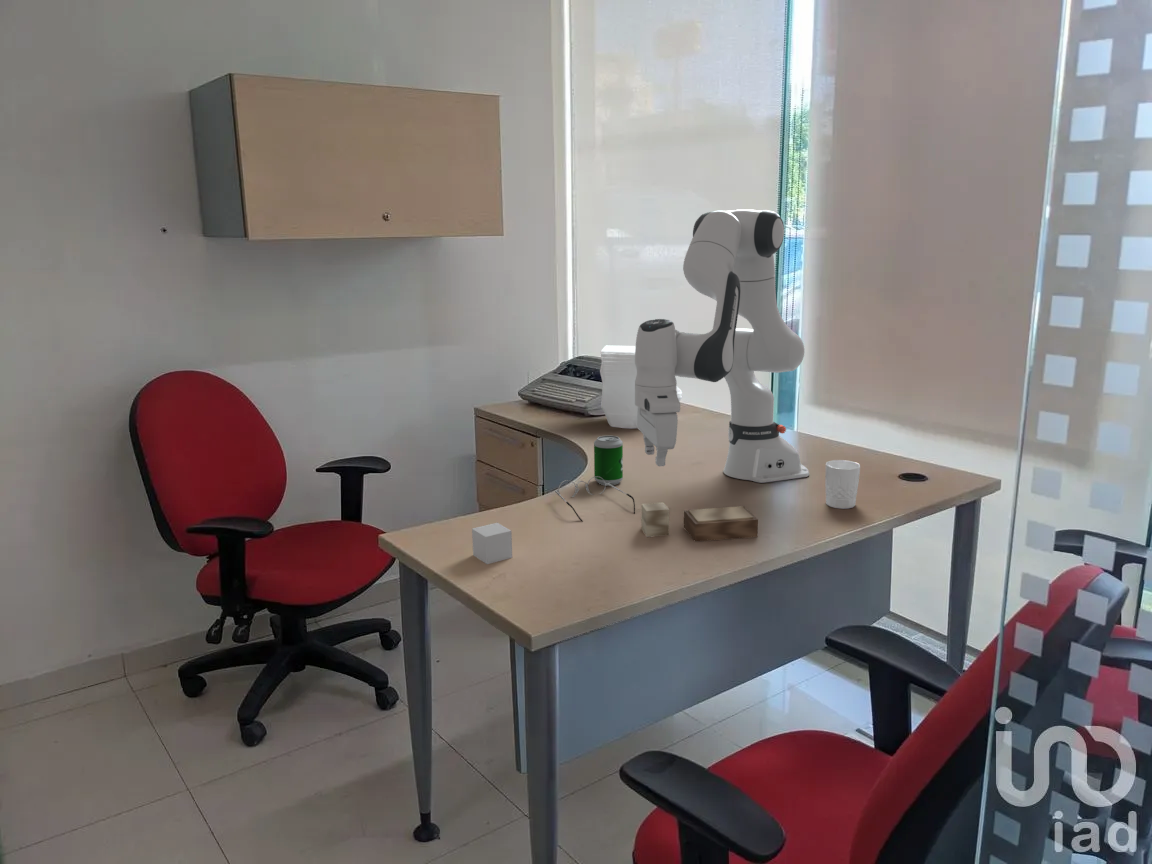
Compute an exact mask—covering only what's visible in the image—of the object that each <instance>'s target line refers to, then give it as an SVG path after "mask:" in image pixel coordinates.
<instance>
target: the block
mask: <svg viewBox="0 0 1152 864" xmlns="http://www.w3.org/2000/svg"><path fill="white" fill-rule="evenodd" d="M640 506H641V507H640V508H641V509H640V510H641V511H640V512H641V514H640V521H641V522H640V523H641V525H640V526H641V527H640V528H641V531H642V532H643V534H644V535H645V537H647V538H648V537H650V538H651V537H663V536H670V509H669V507H668V506H667V505H666V504H665V503H664V501H663V502H662V501H661V502H648V503H647V502H646V503H645V502H644V503H641V505H640Z"/></svg>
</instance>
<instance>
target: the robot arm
mask: <svg viewBox="0 0 1152 864" xmlns="http://www.w3.org/2000/svg"><path fill="white" fill-rule="evenodd" d="M784 236H785V227H784V222H783V219H782V218H781V216H780V215H779V213H777V212H775V211H773V210H768V209H763V210H756V209H746V208H744V209H740V208H739V209H736V210H735V209H733V210H732V209H731V210H713V211H708V212H705V213H702V214H701V215H700V216H699V217H698V218H697V219H696V220H695V223H694V225H693V229H692V239H691V240H690V244H689V246H688V248H687V251H686V254H685V256H684V260H683V265H682V271H683V276H684V277H685V279H686V281H687V282H688V284H689V285H690V286H691V288H693V289H694V290H695V291H697V292H698V293H700V294H702V295H704V296H705V297H709V298H710V299H712V300H715V301H716V305H715V314H714V318H713V320H714V321H713V326H712V329H711V331H708V332H707V333H691V332H690V333H689V332H682V331H679V330H677V329H676V328H675V327H676V326H675V323H674V322H673V321H672V320H670V319H665V318H657V319H656V318H655V319H650V320H646V321H643V322H642V323H641V324H640V325H638V328H637V334H636V340H635V346H636V347H635V365H636V369H637V376H636V379H635V405H636V406H638V411H637V426H638V428H637V429H638V430H639V431H640V433H642V437H643V442H644V453H646V455H648V456H649V455H650V456H652V455H654V454H655V450H656V456H655V465H656V466H657V467H664V466H666V458H667V455H668V450H673V449H674V448H675V446H676V443H677V435H678V424H679V423H678V421H679V419H678V417H679V416H678V414H677V413H680V412H681V401H680V402H679V400H678V397H677V391H676V388H677V387H678V386H677V385H678V384H677V378H676V377H680V378H689V379H697V380H698V379H699V381H705V382H706V381H707V382H711V383H717V382H719V381H721V380H722V379H725V382H726V384H727V387H728V390H729V395H730V420H729V424H728V430H727V431H728V435H727V436H728V442H729V445H728V451H727V457H726V460H725V465H724V467H723V470H722V472H723V474H724V475H726V476H728V477H731V478H734V479H740V480H745V481H753V482H755V483H762V484H763V483H765V484H766V483H771V482H778V481H786V480H791V479H800V478H806V477H808V476H809V475H810V472H809V471H810V470H809V468H807V467H806V466H805V465H803V464H802V463H801V457H800V454H799V453H800V452H799V451H798V450H797V448H796V447H794V446H793V445H792V443H791V444H790V443H789V442H788V440H786V439H785V438H783V437H781V436H780V434H785V433H786V432H787V427H785V425H783V424H780V423H779V424H778V423H777V422H775V421H774V408H775V407H774V406H775V397H774V394H773V392H772V390H771V389H770V388H769V387H768V386H766V385H764V384H763V383H761V382H760V381H759V380H758V379H757V377H756V375H755V372H762V373H764V372H765V373H776V374H778V373H786V372H794V371H795V370H797V368H799V366H800V365H801V364H802V362H803V359H804V357H805V344H804V343H803V342H804V341H803V340H802V338H801V337H800V335H798V334H797V333H796V332H795V331H794V330H792V329H791V328H790V327H789V326H788V325H787V323H786V322H785V320H784V318H783V317H782V315H781V313H780V311H779V307H778V303H777V294H776V293H777V292H776V269H775V267H776V266H775V256H774V254H776V252H778V250H780V248H781V246H782V245H783V241H784ZM738 316H740V317H742V318H744V319H745V320H746V321H748V323H749V324H750V326H751V327H752V328H746V327H737V323H738ZM676 386H677V387H676ZM655 447H656V448H655Z"/></svg>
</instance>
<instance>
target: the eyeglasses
mask: <svg viewBox="0 0 1152 864" xmlns="http://www.w3.org/2000/svg"><path fill="white" fill-rule="evenodd" d="M595 477H598V476H595ZM600 478H601V477H600ZM593 479H594V476H593V477H591V478H590V479H589V480H588V482H586V481H583V480H579V481H578V482H577V483H575V482H573V481H572V480H569V479H566V480H563V481H561V482H560V484H559V486H558V488H557V489H555V490H554V492H555V493H556V494H557V496H559V497H560V498H561V499H562V500H563V502H565V503H566V505H568V507H570V508H571V509H572V510H573V512H574V514H575V515H576V517H577V518H578V520H579V521H580V522H581V523H583V522H584V520H583V519H582V518H581V517H580V516H579V514H578V513H577V511H576V509H575V508H574V507H573V505H572V504H571V503H569V501H567V500H565V499H566V498H564V497H563V496H562V495H561V493H560V488H561V485H562V484H563V483H564V482H567V481H568V482H572V484H573V485H574V493H573V495H572V496H571V497H573V498H574V497H575V496H576V495H577V494H578V492H579V491H580V487H579V486H578V484H579V483H584V484H585V490H586V492H587V493H588V494H589V495H591V496H594V495H595V494H594V493H592V492H591V491H590V490H589V483H590V482H591V480H593ZM602 479H603V478H602ZM603 480H604V479H603ZM604 482H605V481H604ZM606 485H610V486H609V487H611V488H613V489H615V490H617V491H619V492H621V493H623V494H625V495H626V496H628V497H629V498H631V499H632V503H633V514H634V515H635V514H636V504H635V502H636V501H635V499H634V497H633V496H632V495H631V494H630V493H626V492H624V490H621V489H619V488H618V487H616V486H615V485H611V484H609V483H606V484H605V485H604V489H603V490H602V491H601V492H600V493H599V495H601V494H603V493H604V491H605V490H606Z"/></svg>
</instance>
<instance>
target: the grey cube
mask: <svg viewBox="0 0 1152 864" xmlns="http://www.w3.org/2000/svg"><path fill="white" fill-rule="evenodd" d="M471 534H472V535H471V538H472V555H473V556H474V557H475V558H477V559H478V560H480V561H481V562H483V563H485V565H489V564H494V563H497V562H501V561H504V560H505V561H506V560H508V559H511V558H513V540H512V539H513V538H512V530H511V529H509V528H507V527H506V526H504V525H502V524H501V523H499V522H495V523H489V524H486V525H481V526H477V527H474V528H473V527H472V528H471Z"/></svg>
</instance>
